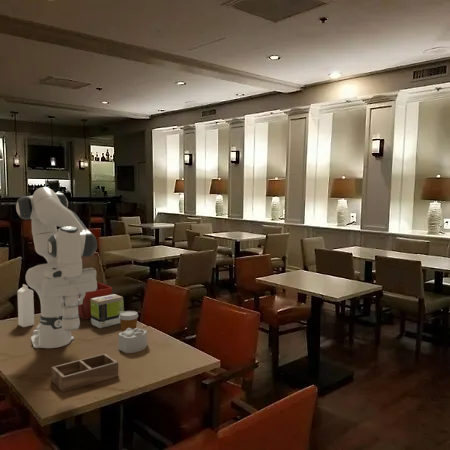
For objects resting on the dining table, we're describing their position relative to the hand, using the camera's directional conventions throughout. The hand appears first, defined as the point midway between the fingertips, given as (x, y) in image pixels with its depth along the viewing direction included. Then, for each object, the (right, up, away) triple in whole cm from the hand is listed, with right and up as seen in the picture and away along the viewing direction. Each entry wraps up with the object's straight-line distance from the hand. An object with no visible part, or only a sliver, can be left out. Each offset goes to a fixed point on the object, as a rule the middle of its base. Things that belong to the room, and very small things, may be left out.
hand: (70, 305), depth 166 cm
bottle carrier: (+4, -30, +6) cm, 31 cm away
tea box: (-6, -24, +74) cm, 78 cm away
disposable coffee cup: (+10, -26, +54) cm, 60 cm away
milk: (-49, -24, +70) cm, 89 cm away
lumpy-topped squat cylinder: (+16, -27, +39) cm, 50 cm away
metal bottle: (0, -10, +1) cm, 10 cm away
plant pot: (-20, -22, +88) cm, 93 cm away
